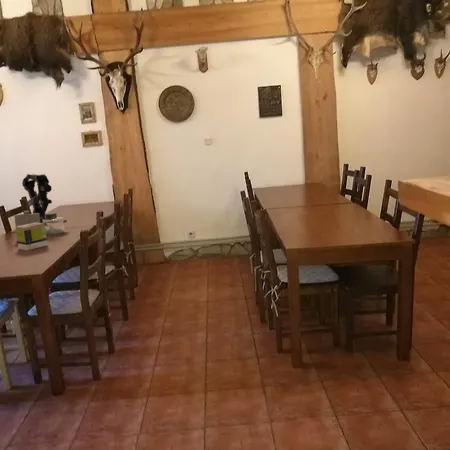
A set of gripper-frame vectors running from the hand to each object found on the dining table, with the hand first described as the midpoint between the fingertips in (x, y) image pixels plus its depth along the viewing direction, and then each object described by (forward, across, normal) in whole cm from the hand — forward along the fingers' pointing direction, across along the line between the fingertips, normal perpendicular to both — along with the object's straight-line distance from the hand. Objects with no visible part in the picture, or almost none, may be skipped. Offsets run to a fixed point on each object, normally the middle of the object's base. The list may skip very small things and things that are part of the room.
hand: (44, 212), depth 389 cm
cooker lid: (+4, +18, 0) cm, 18 cm away
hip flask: (+13, +27, -21) cm, 37 cm away
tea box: (+14, +53, -27) cm, 61 cm away
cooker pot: (+13, +18, 0) cm, 22 cm away
